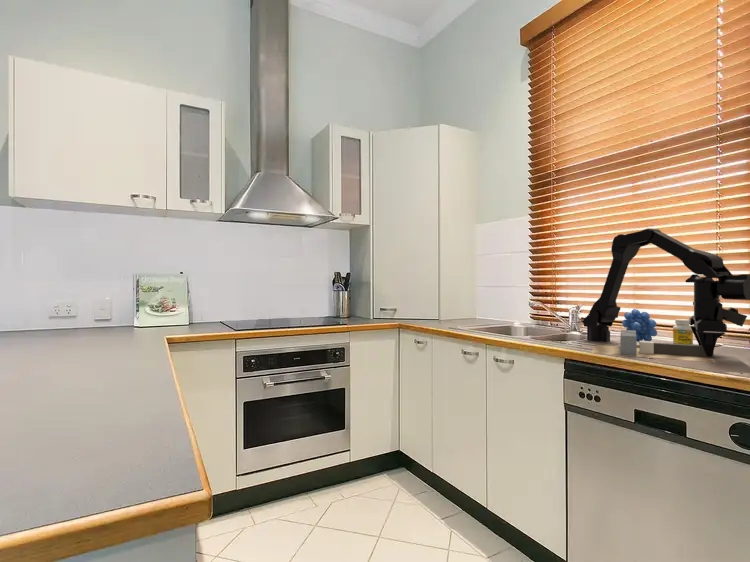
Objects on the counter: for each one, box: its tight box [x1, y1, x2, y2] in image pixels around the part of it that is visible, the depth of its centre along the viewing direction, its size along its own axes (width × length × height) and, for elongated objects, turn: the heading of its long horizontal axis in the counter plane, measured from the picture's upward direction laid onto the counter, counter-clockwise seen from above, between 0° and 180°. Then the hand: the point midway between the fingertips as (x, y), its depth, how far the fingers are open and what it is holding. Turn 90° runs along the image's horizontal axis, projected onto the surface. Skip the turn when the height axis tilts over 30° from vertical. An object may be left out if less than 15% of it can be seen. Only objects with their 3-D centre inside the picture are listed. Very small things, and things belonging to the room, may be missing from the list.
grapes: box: [621, 308, 658, 342], centre depth 155 cm, size 12×7×12 cm, turn 38°
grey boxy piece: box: [619, 329, 637, 357], centre depth 130 cm, size 4×16×6 cm, turn 149°
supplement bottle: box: [672, 318, 694, 345], centre depth 141 cm, size 5×5×10 cm
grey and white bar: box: [636, 340, 715, 359], centre depth 124 cm, size 19×4×3 cm, turn 59°
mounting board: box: [591, 344, 717, 364], centre depth 127 cm, size 30×18×1 cm, turn 59°
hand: (706, 353), depth 120 cm, fingers open, 9 cm apart
